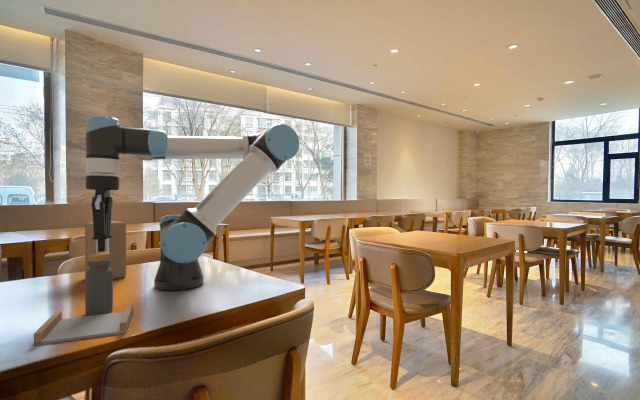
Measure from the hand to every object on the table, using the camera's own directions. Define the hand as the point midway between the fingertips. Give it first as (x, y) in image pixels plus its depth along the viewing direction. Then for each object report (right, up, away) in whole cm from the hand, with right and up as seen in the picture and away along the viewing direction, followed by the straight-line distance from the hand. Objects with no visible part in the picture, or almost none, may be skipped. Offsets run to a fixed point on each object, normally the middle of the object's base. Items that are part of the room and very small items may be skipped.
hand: (102, 262), depth 90 cm
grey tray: (+6, -12, -14) cm, 20 cm away
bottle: (+2, -12, -5) cm, 13 cm away
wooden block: (-18, -11, +29) cm, 36 cm away
